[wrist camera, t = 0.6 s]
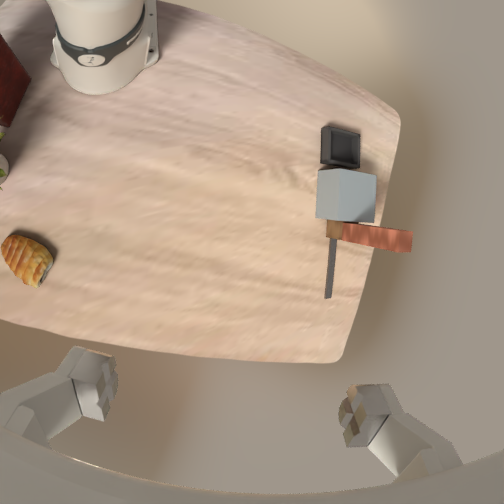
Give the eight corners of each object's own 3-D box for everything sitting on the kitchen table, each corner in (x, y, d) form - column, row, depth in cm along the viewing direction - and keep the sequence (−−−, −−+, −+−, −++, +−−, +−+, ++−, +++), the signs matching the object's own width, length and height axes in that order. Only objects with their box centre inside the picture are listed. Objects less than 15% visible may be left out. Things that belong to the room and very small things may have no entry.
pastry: (-2, 258, 38) (-10, 262, 34) (15, 222, 39) (7, 224, 35) (40, 289, 42) (35, 295, 38) (58, 254, 42) (53, 258, 39)
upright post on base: (329, 184, 58) (400, 183, 41) (347, 187, 59) (417, 187, 43) (326, 237, 59) (395, 252, 43) (344, 237, 61) (413, 252, 44)
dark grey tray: (321, 128, 56) (328, 126, 54) (352, 136, 59) (360, 134, 57) (320, 163, 57) (327, 162, 55) (352, 168, 60) (359, 168, 58)
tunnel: (317, 170, 57) (340, 168, 51) (353, 176, 61) (376, 175, 54) (315, 217, 58) (337, 220, 52) (351, 220, 62) (374, 222, 56)
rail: (334, 168, 58) (335, 168, 58) (339, 169, 59) (340, 168, 59) (324, 298, 62) (325, 298, 62) (329, 297, 63) (331, 298, 63)
